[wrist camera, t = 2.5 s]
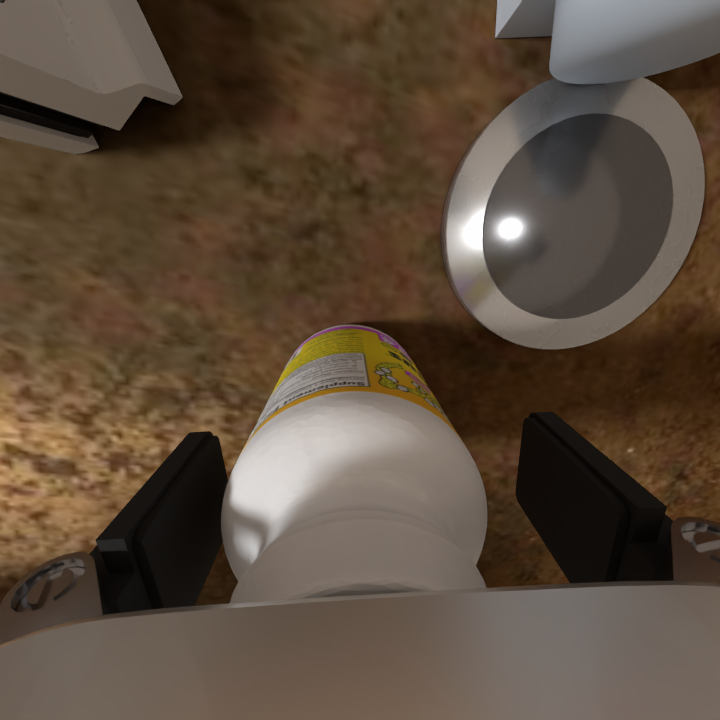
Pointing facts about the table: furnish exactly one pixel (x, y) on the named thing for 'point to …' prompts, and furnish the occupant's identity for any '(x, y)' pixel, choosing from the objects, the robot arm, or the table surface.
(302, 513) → the supplement bottle
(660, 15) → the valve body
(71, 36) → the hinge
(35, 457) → the table surface
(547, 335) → the gray metal plate
